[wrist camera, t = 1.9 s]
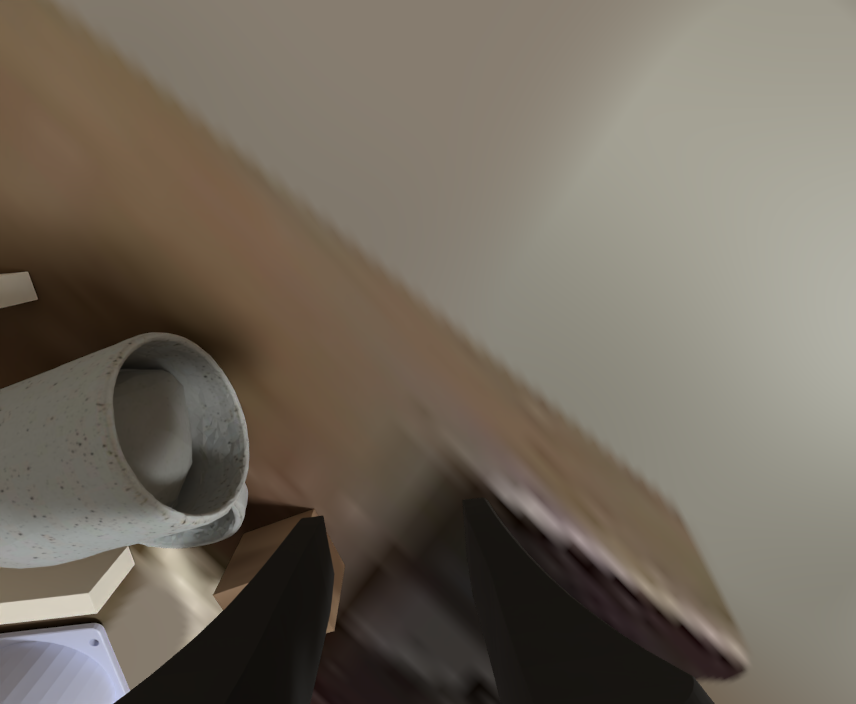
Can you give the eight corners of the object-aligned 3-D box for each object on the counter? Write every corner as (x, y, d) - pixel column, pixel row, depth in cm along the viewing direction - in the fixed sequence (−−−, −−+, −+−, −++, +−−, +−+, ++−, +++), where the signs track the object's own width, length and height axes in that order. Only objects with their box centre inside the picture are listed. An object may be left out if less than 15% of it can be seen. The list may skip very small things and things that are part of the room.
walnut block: (345, 564, 24) (334, 630, 20) (278, 587, 24) (255, 656, 21) (314, 507, 23) (296, 566, 19) (244, 532, 23) (213, 595, 19)
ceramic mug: (28, 373, 20) (-185, 469, 13) (192, 309, 19) (67, 371, 12) (156, 546, 23) (45, 702, 16) (298, 496, 23) (250, 632, 16)
